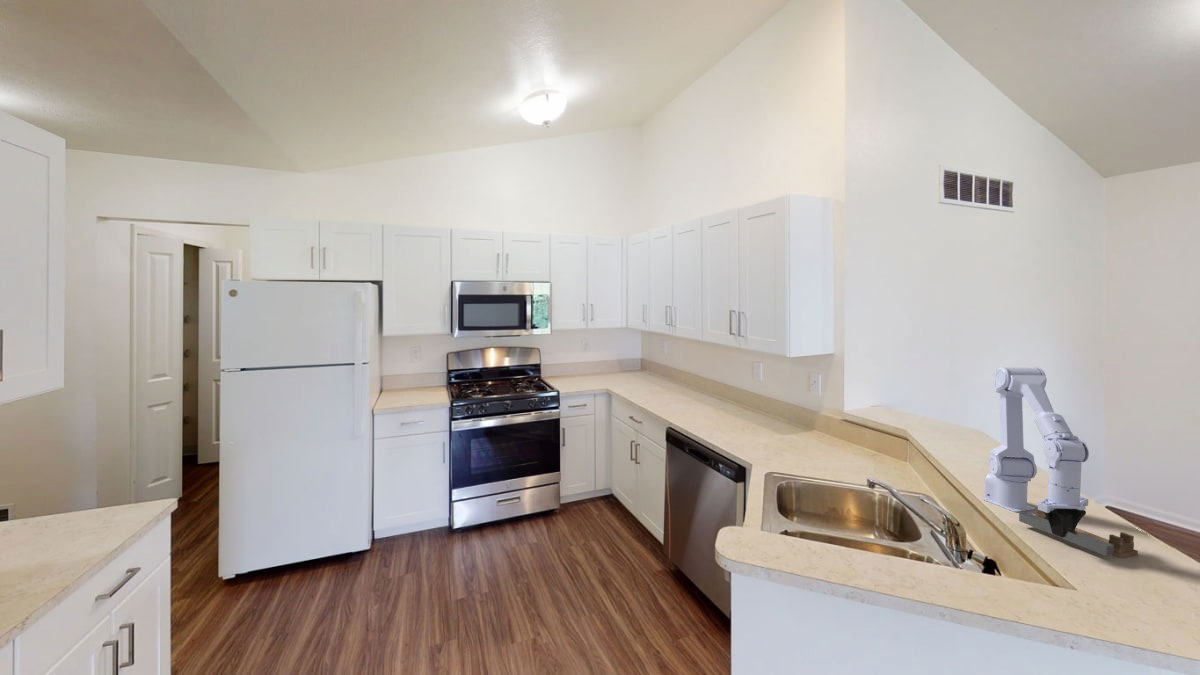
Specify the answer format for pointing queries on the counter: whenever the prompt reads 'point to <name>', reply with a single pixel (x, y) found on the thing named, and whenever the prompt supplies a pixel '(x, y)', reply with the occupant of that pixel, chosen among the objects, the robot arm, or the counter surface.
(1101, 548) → the graphite rail
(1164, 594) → the counter surface
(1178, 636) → the counter surface
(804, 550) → the counter surface
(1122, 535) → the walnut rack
